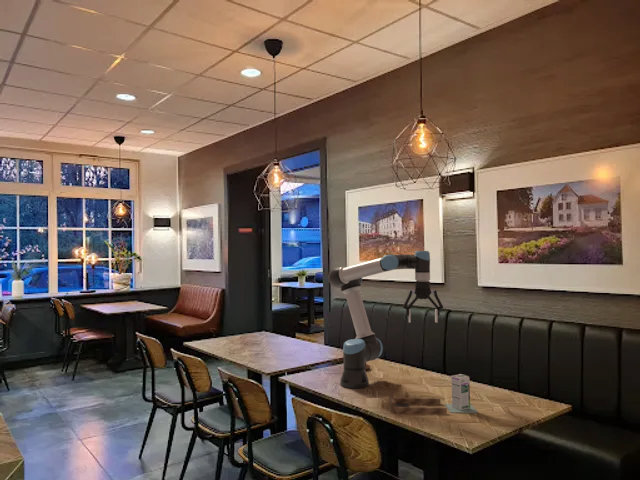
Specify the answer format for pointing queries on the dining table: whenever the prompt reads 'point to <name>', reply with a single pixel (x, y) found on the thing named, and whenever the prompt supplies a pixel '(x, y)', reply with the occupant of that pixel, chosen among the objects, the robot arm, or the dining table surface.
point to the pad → (453, 410)
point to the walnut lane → (403, 408)
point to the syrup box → (460, 392)
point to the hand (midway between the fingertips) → (423, 322)
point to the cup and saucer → (367, 366)
